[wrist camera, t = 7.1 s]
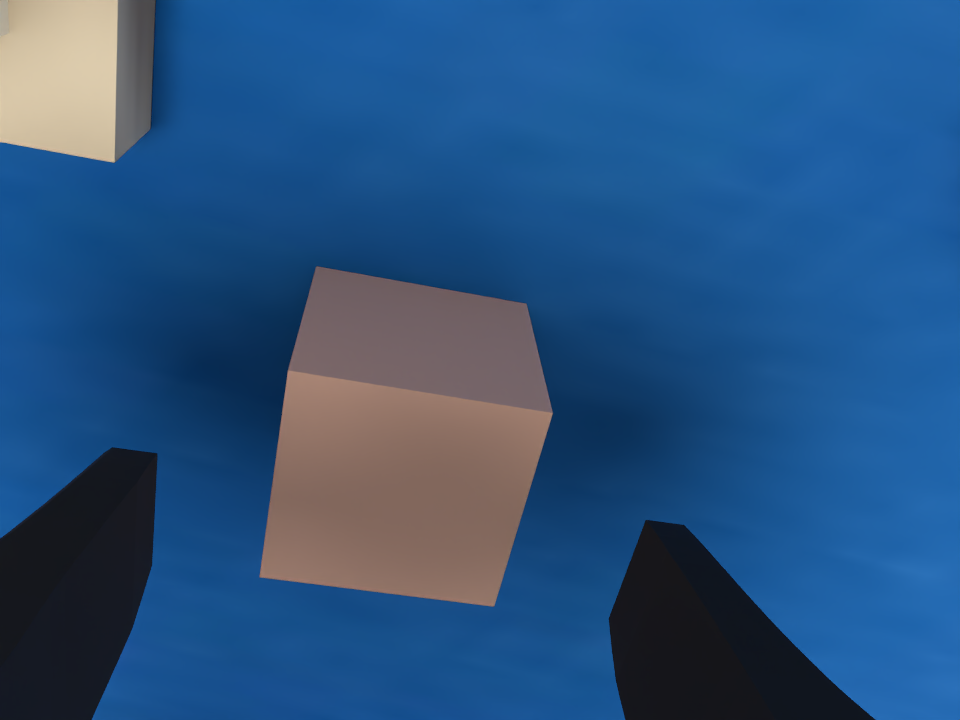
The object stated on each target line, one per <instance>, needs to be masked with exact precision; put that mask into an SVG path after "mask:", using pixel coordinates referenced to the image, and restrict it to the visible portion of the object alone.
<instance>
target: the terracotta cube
mask: <svg viewBox="0 0 960 720" xmlns="http://www.w3.org/2000/svg"><path fill="white" fill-rule="evenodd" d="M552 414H553V412H552V408H551V403H550V399H549V395H548V391H547V387H546V383H545V379H544V374H543V370H542V366H541V362H540V358H539V354H538V349H537V345H536V341H535V337H534V333H533V329H532V324H531V320H530V316H529V312H528V308H527V304H525V303H519V302H514V301H508V300H502V299H497V298H491V297H486V296H480V295H475V294H469V293H463V292H458V291H452V290H447V289H441V288H435V287H430V286H424V285H419V284H413V283H407V282H402V281H396V280H391V279H385V278H380V277H374V276H368V275H363V274H357V273H352V272H346V271H340V270H335V269H329V268H324V267H318V266H316V269H315V273H314V277H313V280H312V284H311V288H310V291H309V295H308V299H307V302H306V306H305V310H304V313H303V317H302V321H301V324H300V328H299V332H298V335H297V339H296V343H295V347H294V350H293V354H292V358H291V361H290V365H289V369H288V374H287V381H286V389H285V396H284V403H283V411H282V418H281V425H280V432H279V440H278V447H277V454H276V461H275V469H274V476H273V483H272V491H271V498H270V505H269V512H268V520H267V527H266V534H265V541H264V549H263V556H262V563H261V571H260V577H262V578H270V579H278V580H286V581H294V582H302V583H310V584H318V585H326V586H334V587H342V588H350V589H358V590H365V591H373V592H381V593H389V594H397V595H405V596H413V597H421V598H429V599H437V600H445V601H453V602H461V603H469V604H477V605H485V606H493V607H494V605H495V602H496V599H497V595H498V592H499V589H500V585H501V582H502V579H503V576H504V572H505V569H506V566H507V562H508V559H509V556H510V553H511V549H512V546H513V543H514V539H515V536H516V533H517V529H518V526H519V523H520V520H521V516H522V513H523V510H524V506H525V503H526V500H527V496H528V493H529V490H530V487H531V483H532V480H533V477H534V473H535V470H536V467H537V464H538V460H539V457H540V454H541V450H542V447H543V444H544V440H545V437H546V434H547V431H548V427H549V424H550V421H551V417H552Z"/></svg>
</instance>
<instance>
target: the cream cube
mask: <svg viewBox="0 0 960 720" xmlns="http://www.w3.org/2000/svg"><path fill="white" fill-rule="evenodd" d="M6 34H9V17H8V0H0V37H1V36H4V35H6Z"/></svg>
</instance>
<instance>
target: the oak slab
mask: <svg viewBox="0 0 960 720" xmlns="http://www.w3.org/2000/svg"><path fill="white" fill-rule="evenodd" d="M8 17H9V34H6V35H4V36H1V37H0V142H3V143H9V144H14V145H20V146H25V147H31V148H36V149H42V150H47V151H53V152H58V153H64V154H69V155H75V156H80V157H86V158H91V159H97V160H102V161H108V162H114V163H115V162H116V161H117V160H118V159H119V158H120V157H121V156H122V155H123V154H124V153H125V152H126V151H128V150H129V149H130V148H131V147H132V146H133V145H134V144H135V143H136V142H137V141H138V140H139V139H140V138H141V137H143V136H144V135H145V134H146V133H147V132H148V131H149V130H150V127H151V101H152V75H153V50H154V24H155V0H8Z"/></svg>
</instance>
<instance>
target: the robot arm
mask: <svg viewBox="0 0 960 720" xmlns="http://www.w3.org/2000/svg"><path fill="white" fill-rule="evenodd" d="M156 473H157V453H150V452H142V451H135V450H128V449H120V448H113V447H112V448H111V449H109V450H108V451H106V452H105V453H103V454H102V455H101V456H100V457H99V458H98V459H97V460H95V461H94V462H93V463H92V464H91V465H90V466H88V467H87V468H86V469H85V470H84V471H83V472H82V473H80V474H79V475H78V476H77V477H76V478H75V479H74V480H72V481H71V482H70V483H69V484H68V485H67V486H65V487H64V488H63V489H62V490H61V491H59V492H58V493H57V494H56V495H55V496H53V497H52V498H51V499H50V500H49V501H47V502H46V503H45V504H44V505H43V506H41V507H40V508H39V509H37V510H36V511H35V512H34V513H32V514H31V515H30V516H29V517H27V518H26V519H25V520H24V521H22V522H21V523H20V524H18V525H17V526H16V527H15V528H13V529H12V530H11V531H10V532H8V533H7V534H6V535H4V536H3V537H2V538H0V720H91V719H92V717H93V715H94V713H95V710H96V708H97V706H98V704H99V702H100V699H101V697H102V695H103V693H104V691H105V688H106V686H107V684H108V682H109V680H110V677H111V675H112V673H113V671H114V668H115V666H116V664H117V662H118V660H119V657H120V655H121V653H122V651H123V648H124V646H125V644H126V642H127V639H128V637H129V635H130V632H131V630H132V627H133V624H134V621H135V618H136V615H137V612H138V609H139V606H140V602H141V599H142V596H143V593H144V589H145V586H146V583H147V579H148V576H149V573H150V570H151V566H152V554H153V533H154V513H155V493H156ZM609 625H610V635H611V644H612V654H613V661H614V669H615V677H616V683H617V687H618V691H619V696H620V700H621V704H622V708H623V712H624V716H625V720H875V719H874V718H873V717H871V716H870V715H869V714H868V713H867V712H866V711H864V710H863V709H862V708H861V707H860V706H859V705H857V704H856V703H855V702H854V701H853V700H852V699H850V698H849V697H848V696H847V695H846V694H845V693H844V692H843V691H841V690H840V689H839V688H838V687H837V686H836V685H835V684H834V683H833V682H832V681H831V680H829V679H828V678H827V677H826V676H825V675H824V674H823V673H822V672H821V671H820V670H819V669H818V668H817V667H816V666H815V665H814V664H813V663H812V662H811V661H810V660H809V659H808V658H807V657H806V656H805V655H804V654H803V653H802V652H801V651H800V650H799V649H798V648H797V647H796V646H795V645H794V644H793V643H792V642H791V641H790V640H789V639H788V638H787V637H786V636H785V635H784V634H783V633H782V632H781V631H780V630H779V629H778V628H777V627H776V626H775V624H774V623H773V622H772V621H771V620H770V619H769V618H768V617H767V616H766V615H765V614H764V613H763V612H762V610H761V609H760V608H759V607H758V606H757V605H756V604H755V603H754V602H753V601H752V600H751V598H750V597H749V596H748V595H747V594H746V593H745V592H744V591H743V590H742V588H741V587H740V586H739V585H738V584H737V583H736V582H735V581H734V579H733V578H732V577H731V576H730V575H729V574H728V573H727V572H726V570H725V569H724V568H723V567H722V566H721V565H720V564H719V563H718V561H717V560H716V559H715V558H714V557H713V556H712V555H711V554H710V552H709V551H708V550H707V549H706V548H705V547H704V546H703V545H702V543H701V542H700V541H699V540H698V539H697V538H696V537H695V536H694V535H693V534H692V533H691V532H690V531H689V530H688V529H687V528H686V527H685V526H684V525H680V524H672V523H665V522H657V521H650V520H646V521H645V524H644V527H643V529H642V532H641V535H640V537H639V540H638V543H637V545H636V548H635V550H634V553H633V556H632V558H631V561H630V564H629V566H628V569H627V572H626V574H625V577H624V580H623V582H622V585H621V588H620V590H619V593H618V596H617V598H616V601H615V604H614V606H613V609H612V612H611V614H610V617H609Z"/></svg>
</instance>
